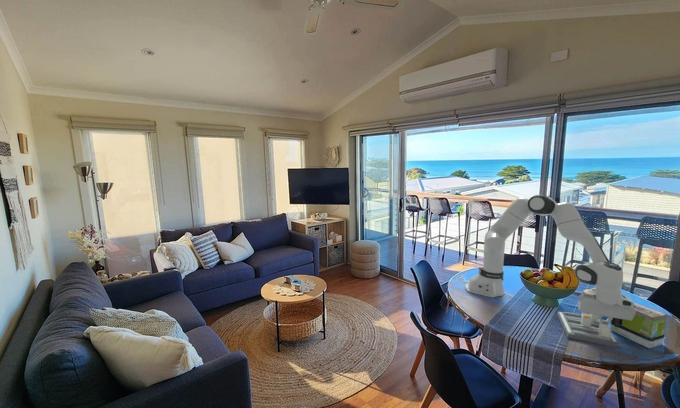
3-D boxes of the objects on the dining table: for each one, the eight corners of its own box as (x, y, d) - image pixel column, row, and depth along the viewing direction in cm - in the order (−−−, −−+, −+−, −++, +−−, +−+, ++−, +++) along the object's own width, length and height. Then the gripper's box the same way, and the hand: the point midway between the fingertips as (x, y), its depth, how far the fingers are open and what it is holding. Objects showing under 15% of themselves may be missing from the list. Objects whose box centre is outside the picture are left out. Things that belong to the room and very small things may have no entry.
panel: (567, 337, 136) (568, 323, 135) (557, 314, 156) (558, 302, 155) (618, 347, 128) (620, 333, 127) (600, 322, 148) (602, 309, 147)
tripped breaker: (582, 327, 141) (583, 316, 140) (580, 323, 144) (581, 313, 143) (590, 328, 139) (591, 318, 139) (588, 324, 143) (589, 314, 142)
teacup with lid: (601, 314, 155) (604, 293, 153) (579, 308, 162) (582, 288, 160) (604, 306, 163) (607, 286, 161) (583, 301, 170) (585, 282, 168)
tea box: (663, 344, 130) (668, 313, 127) (648, 349, 127) (653, 317, 125) (623, 326, 144) (626, 298, 142) (608, 330, 141) (612, 301, 139)
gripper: (581, 295, 138) (578, 322, 140) (639, 304, 129) (635, 332, 131) (577, 290, 144) (574, 316, 146) (633, 298, 135) (629, 325, 137)
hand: (603, 324), depth 138 cm, fingers closed
